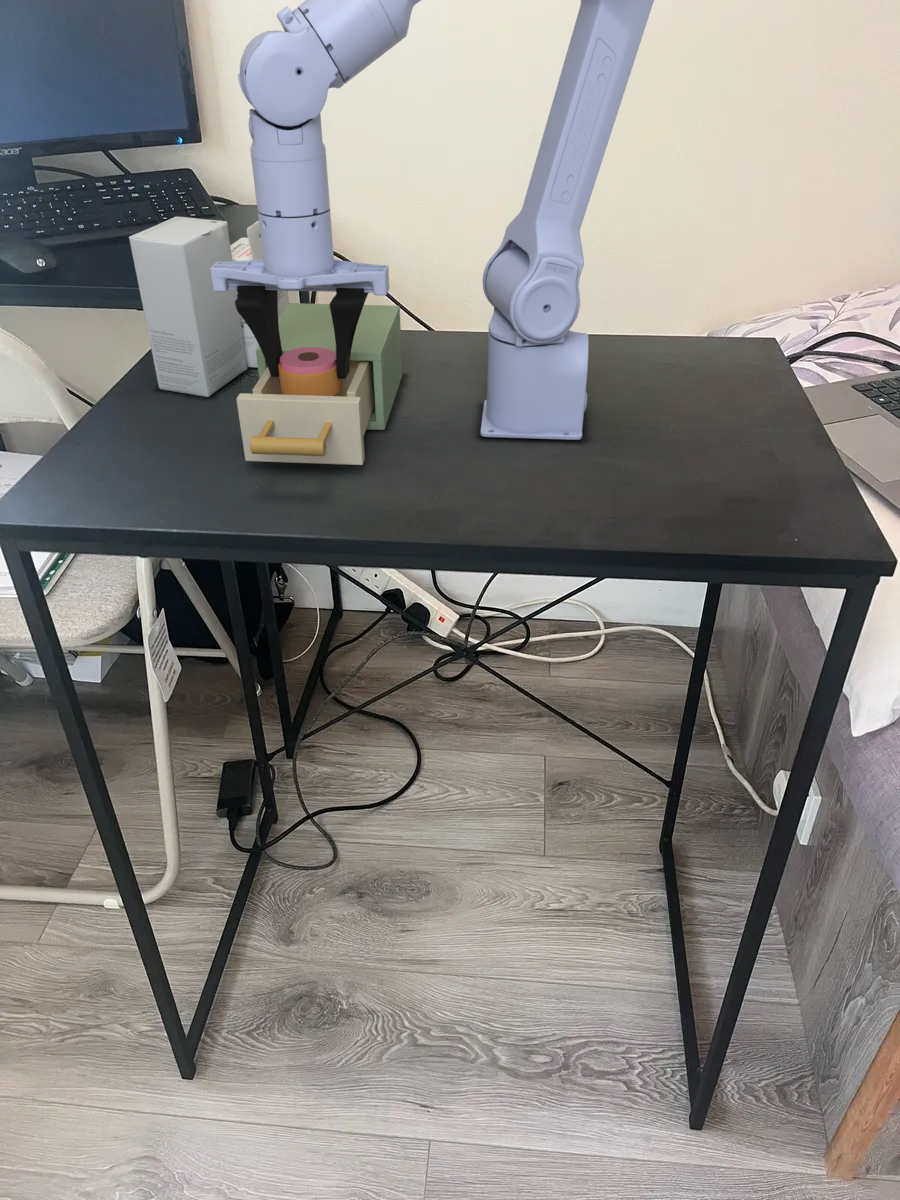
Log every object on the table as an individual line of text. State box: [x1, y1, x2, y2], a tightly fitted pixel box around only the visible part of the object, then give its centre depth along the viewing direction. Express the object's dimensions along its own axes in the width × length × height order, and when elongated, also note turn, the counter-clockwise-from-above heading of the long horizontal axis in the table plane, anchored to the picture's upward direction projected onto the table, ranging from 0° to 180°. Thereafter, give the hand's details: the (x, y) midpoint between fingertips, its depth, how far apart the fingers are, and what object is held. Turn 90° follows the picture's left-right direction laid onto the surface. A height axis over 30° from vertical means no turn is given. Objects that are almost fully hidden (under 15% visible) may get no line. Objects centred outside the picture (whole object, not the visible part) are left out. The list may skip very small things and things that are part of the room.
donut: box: [278, 347, 342, 396], centre depth 80 cm, size 5×5×3 cm
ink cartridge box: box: [230, 219, 290, 369], centre depth 98 cm, size 9×5×15 cm, turn 168°
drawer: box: [236, 360, 375, 466], centre depth 80 cm, size 17×10×6 cm, turn 175°
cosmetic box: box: [128, 216, 248, 398], centre depth 92 cm, size 8×7×16 cm
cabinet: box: [256, 302, 403, 431], centre depth 90 cm, size 14×12×8 cm
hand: (309, 373), depth 80 cm, fingers closed on donut, 5 cm apart
